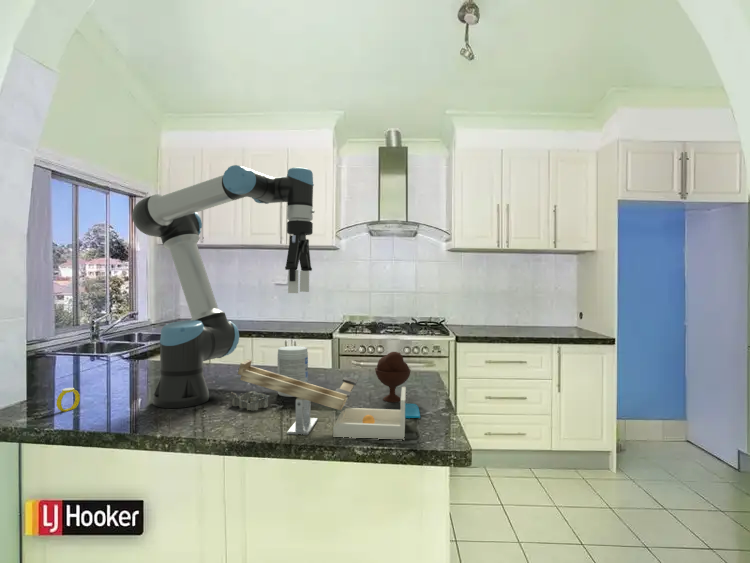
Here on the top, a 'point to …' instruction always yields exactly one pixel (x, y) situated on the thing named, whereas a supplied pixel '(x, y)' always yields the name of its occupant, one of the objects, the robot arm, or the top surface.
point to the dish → (385, 425)
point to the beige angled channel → (297, 386)
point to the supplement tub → (293, 363)
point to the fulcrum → (302, 418)
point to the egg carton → (255, 400)
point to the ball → (368, 419)
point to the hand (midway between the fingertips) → (299, 292)
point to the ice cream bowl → (392, 373)
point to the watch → (59, 399)
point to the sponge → (412, 411)
